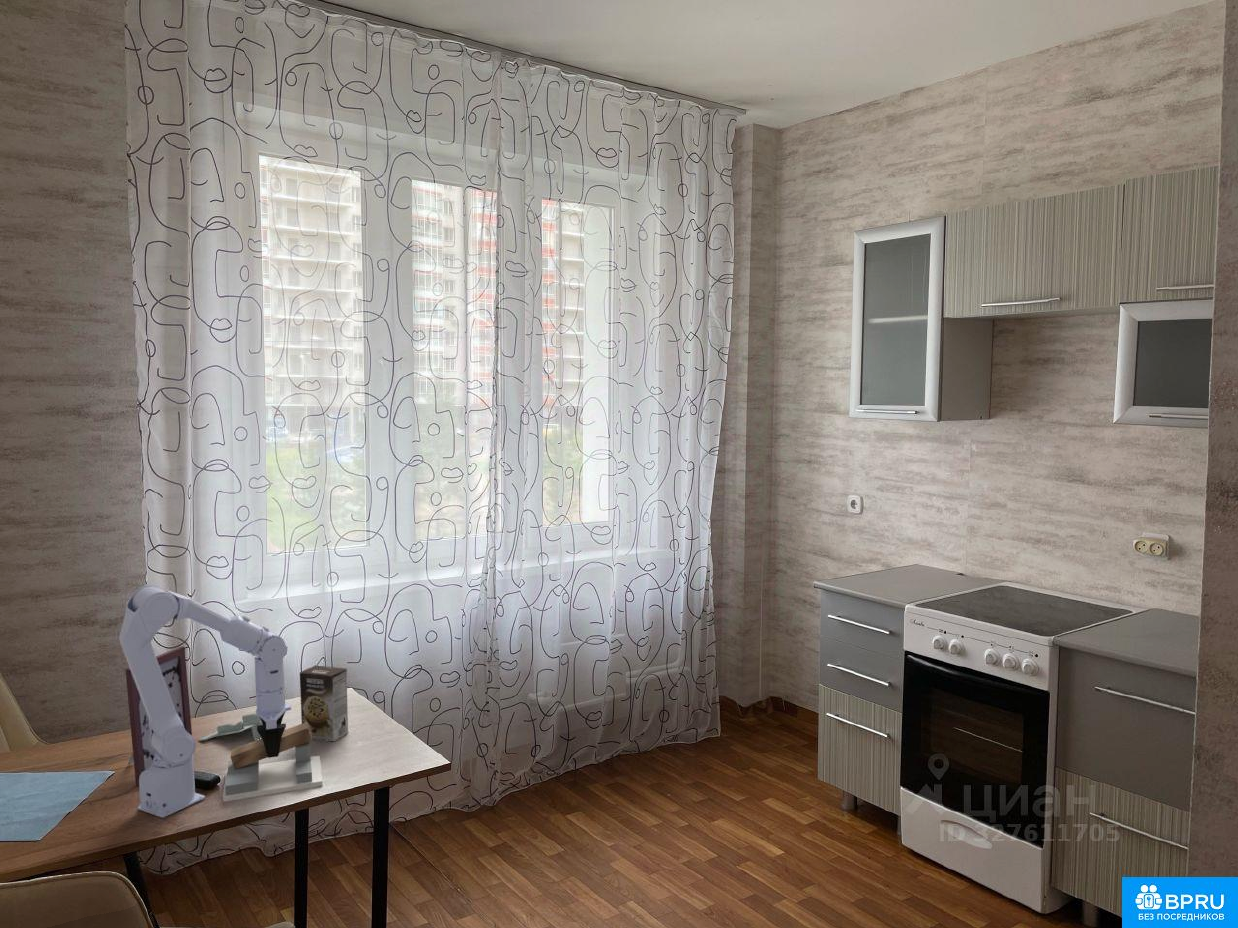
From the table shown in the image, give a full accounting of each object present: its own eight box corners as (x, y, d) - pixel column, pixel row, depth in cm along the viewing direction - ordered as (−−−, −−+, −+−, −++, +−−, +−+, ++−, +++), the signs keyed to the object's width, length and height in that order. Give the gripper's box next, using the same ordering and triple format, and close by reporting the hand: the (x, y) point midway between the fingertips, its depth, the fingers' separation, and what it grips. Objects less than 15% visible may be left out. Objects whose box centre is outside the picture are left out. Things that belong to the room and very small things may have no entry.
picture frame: (140, 785, 185) (133, 669, 183) (100, 781, 187) (93, 666, 185) (193, 753, 201) (188, 646, 199) (156, 750, 203) (150, 644, 201)
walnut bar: (234, 769, 185) (230, 756, 185) (235, 762, 189) (231, 749, 188) (311, 740, 190) (307, 727, 190) (311, 733, 194) (307, 721, 194)
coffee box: (300, 738, 209) (297, 672, 208) (317, 728, 215) (314, 664, 214) (333, 742, 206) (331, 675, 205) (349, 732, 213) (347, 667, 211)
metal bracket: (283, 705, 216) (232, 726, 203) (289, 728, 216) (238, 751, 202) (244, 712, 222) (192, 733, 209) (250, 735, 222) (198, 757, 209)
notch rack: (223, 801, 177) (221, 772, 176) (226, 773, 190) (225, 746, 189) (322, 785, 184) (321, 757, 183) (319, 759, 197) (318, 733, 196)
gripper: (290, 696, 183) (293, 759, 184) (289, 675, 196) (292, 734, 198) (254, 701, 180) (257, 765, 182) (255, 679, 194) (258, 739, 195)
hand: (273, 749), depth 189 cm, fingers open, 7 cm apart
